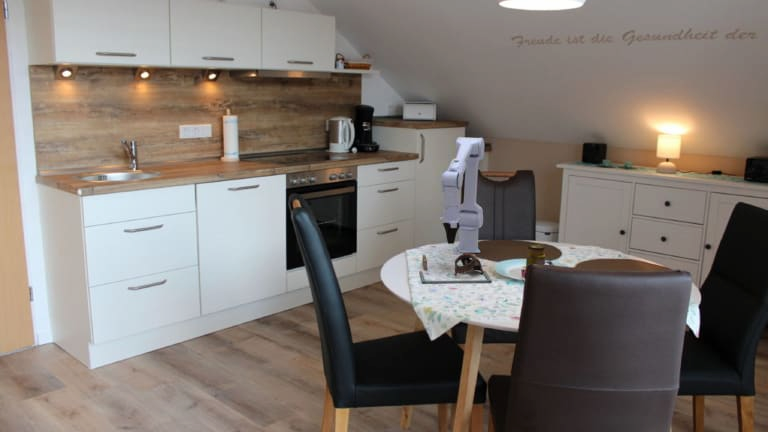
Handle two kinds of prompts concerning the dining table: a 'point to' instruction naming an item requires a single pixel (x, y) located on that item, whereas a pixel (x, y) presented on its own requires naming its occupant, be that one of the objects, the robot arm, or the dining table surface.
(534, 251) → the condiment
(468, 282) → the frame
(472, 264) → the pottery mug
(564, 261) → the dining table surface
